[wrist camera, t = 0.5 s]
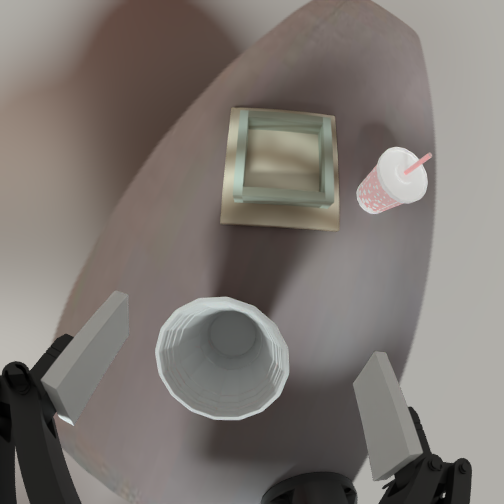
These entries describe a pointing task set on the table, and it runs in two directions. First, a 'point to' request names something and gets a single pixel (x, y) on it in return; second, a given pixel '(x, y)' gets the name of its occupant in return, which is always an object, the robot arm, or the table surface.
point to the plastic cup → (222, 358)
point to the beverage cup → (393, 181)
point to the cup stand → (281, 170)
